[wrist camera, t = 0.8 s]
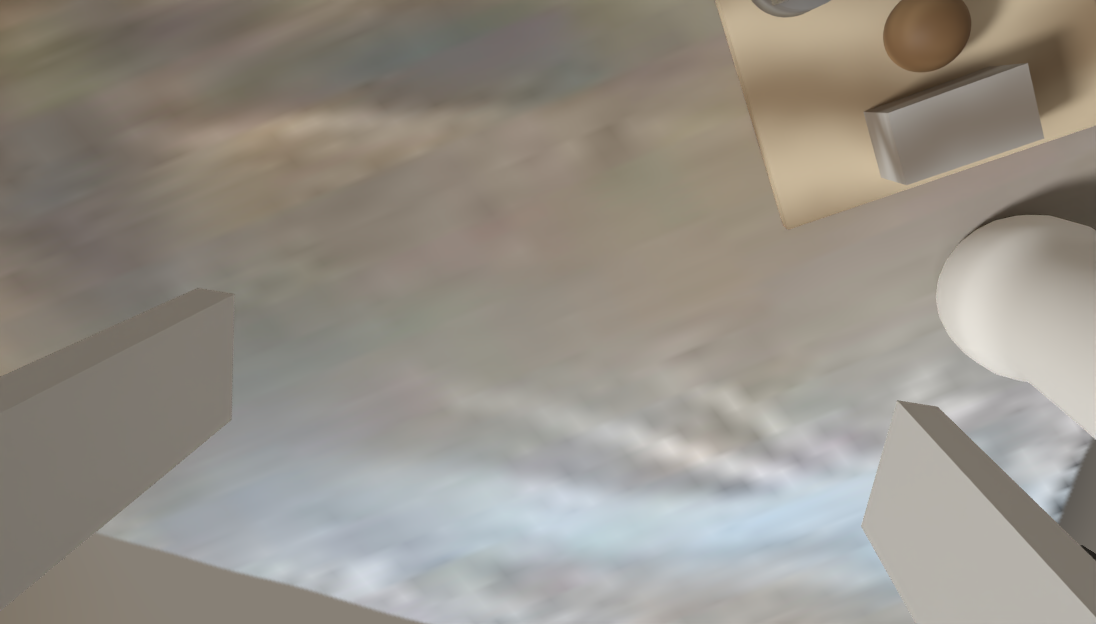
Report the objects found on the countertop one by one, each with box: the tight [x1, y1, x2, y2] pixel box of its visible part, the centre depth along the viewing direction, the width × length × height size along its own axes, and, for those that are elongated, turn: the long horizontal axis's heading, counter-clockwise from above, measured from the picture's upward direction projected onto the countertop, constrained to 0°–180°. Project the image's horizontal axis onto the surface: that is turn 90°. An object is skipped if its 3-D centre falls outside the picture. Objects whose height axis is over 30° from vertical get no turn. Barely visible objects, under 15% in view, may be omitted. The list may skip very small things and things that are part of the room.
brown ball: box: [883, 0, 971, 73], centre depth 35 cm, size 4×4×4 cm
